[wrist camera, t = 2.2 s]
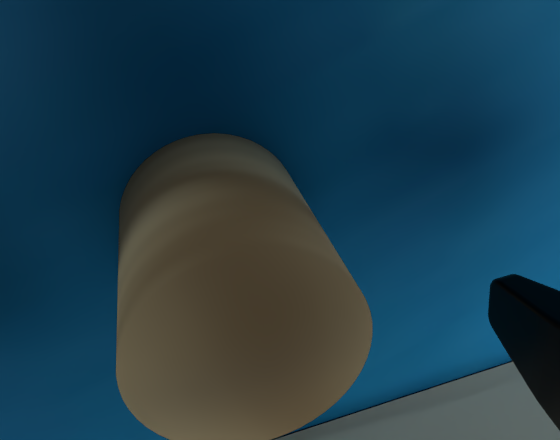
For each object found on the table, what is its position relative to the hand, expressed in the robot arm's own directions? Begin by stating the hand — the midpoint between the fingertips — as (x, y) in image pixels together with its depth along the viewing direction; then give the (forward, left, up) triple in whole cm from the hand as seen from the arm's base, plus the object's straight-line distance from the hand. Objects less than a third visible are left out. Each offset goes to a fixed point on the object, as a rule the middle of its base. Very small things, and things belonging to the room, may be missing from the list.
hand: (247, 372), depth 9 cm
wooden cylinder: (0, 0, -5) cm, 5 cm away
